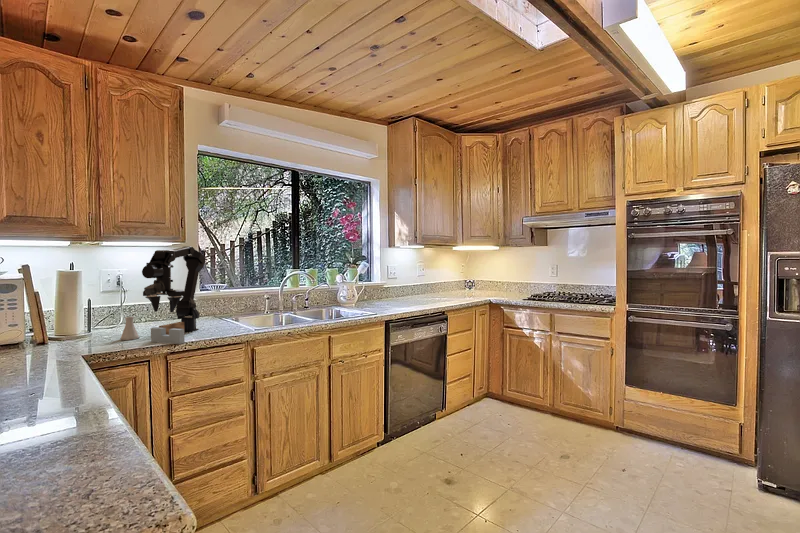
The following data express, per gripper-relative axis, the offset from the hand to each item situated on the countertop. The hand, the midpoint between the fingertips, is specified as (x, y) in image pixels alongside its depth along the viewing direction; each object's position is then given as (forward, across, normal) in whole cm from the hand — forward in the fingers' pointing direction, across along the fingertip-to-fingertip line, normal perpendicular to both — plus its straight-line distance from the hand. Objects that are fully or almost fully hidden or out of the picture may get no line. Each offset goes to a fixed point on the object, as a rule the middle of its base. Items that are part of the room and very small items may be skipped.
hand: (163, 311), depth 189 cm
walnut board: (+12, 0, +4) cm, 13 cm away
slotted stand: (+12, +8, -6) cm, 16 cm away
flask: (+12, -15, -4) cm, 20 cm away
